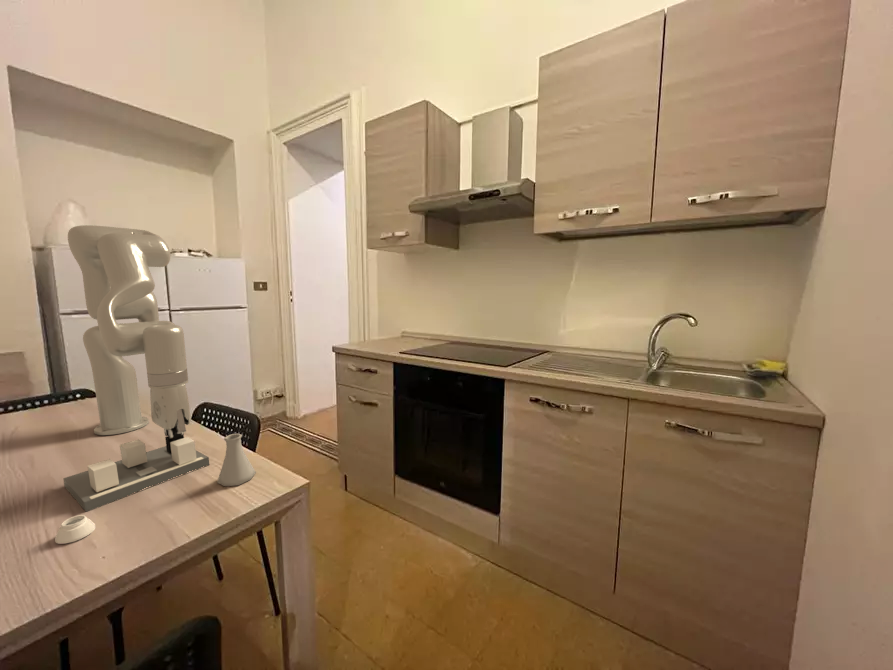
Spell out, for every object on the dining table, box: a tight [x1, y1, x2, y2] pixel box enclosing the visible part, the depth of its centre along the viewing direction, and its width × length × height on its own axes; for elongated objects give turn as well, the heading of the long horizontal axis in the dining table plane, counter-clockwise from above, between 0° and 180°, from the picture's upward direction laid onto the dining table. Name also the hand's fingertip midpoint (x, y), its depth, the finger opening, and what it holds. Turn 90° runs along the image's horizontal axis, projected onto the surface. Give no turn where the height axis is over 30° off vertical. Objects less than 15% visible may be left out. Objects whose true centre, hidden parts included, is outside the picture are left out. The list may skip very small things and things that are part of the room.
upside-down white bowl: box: [54, 514, 96, 545], centre depth 65 cm, size 5×3×5 cm
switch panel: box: [63, 445, 210, 512], centre depth 85 cm, size 16×22×2 cm
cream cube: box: [170, 436, 197, 465], centre depth 87 cm, size 4×4×4 cm
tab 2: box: [119, 439, 147, 468], centre depth 86 cm, size 4×4×4 cm
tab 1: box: [87, 458, 119, 492], centre depth 76 cm, size 4×4×4 cm
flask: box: [216, 433, 257, 487], centre depth 83 cm, size 7×7×10 cm
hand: (176, 450), depth 90 cm, fingers closed
